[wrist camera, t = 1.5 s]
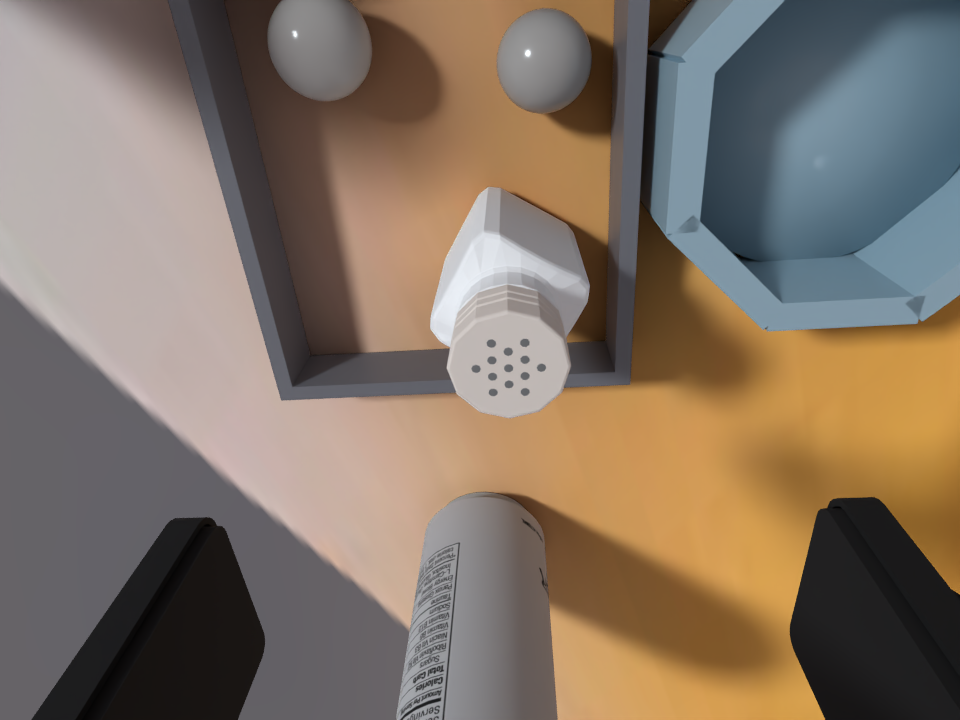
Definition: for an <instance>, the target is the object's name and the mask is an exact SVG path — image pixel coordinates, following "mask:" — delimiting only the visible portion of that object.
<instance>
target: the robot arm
mask: <svg viewBox="0 0 960 720" xmlns="http://www.w3.org/2000/svg"><path fill="white" fill-rule="evenodd" d="M790 637H791V642H792V646H793V649H794V652H795V654H796V656H797V658H798V660H799V663H800V665H801V667H802V669H803V671H804V674H805V676H806V678H807V680H808V682H809V685H810V687H811V689H812V691H813V693H814V695H815V698H816V700H817V702H818V704H819V706H820V709H821V711H822V713H823V715H824V717H825V720H960V595H959V594H958V593H956V592H954V591H953V590H951V589H950V587H949V586H948V585H947V583H946V582H945V581H944V580H943V578H942V577H941V576H940V575H939V573H938V572H937V571H936V570H935V568H934V567H933V566H932V564H931V563H930V562H929V561H928V559H927V558H926V557H925V556H924V554H923V553H922V552H921V550H920V549H919V548H918V547H917V545H916V544H915V543H914V542H913V540H912V539H911V538H910V536H909V535H908V534H907V533H906V531H905V530H904V529H903V528H902V526H901V525H900V524H899V523H898V521H897V520H896V519H895V517H894V516H893V515H892V514H891V512H890V511H889V510H888V509H887V507H886V506H885V505H884V504H883V503H882V502H881V501H880V500H879V499H877V498H875V497H868V498H837V499H833V500H832V501H830V503H829V505H828V508H827V509H820V510H819V511H818V514H817V517H816V521H815V525H814V529H813V533H812V537H811V541H810V545H809V549H808V554H807V558H806V562H805V566H804V570H803V574H802V578H801V582H800V586H799V591H798V595H797V599H796V603H795V607H794V611H793V615H792V619H791V623H790ZM264 647H265V636H264V632H263V629H262V626H261V624H260V621H259V619H258V616H257V613H256V611H255V608H254V605H253V602H252V600H251V597H250V594H249V592H248V589H247V587H246V584H245V581H244V578H243V575H242V573H241V570H240V567H239V565H238V562H237V559H236V557H235V554H234V551H233V549H232V546H231V543H230V541H229V538H228V535H227V533H226V531H225V529H224V528H223V527H222V526H217V525H216V523H215V521H214V520H213V519H212V518H207V517H205V518H175V519H173V520H171V521H170V522H169V523H168V524H167V525H166V526H165V528H164V529H163V531H162V532H161V534H160V535H159V536H158V538H157V539H156V541H155V542H154V544H153V545H152V546H151V548H150V549H149V551H148V552H147V554H146V555H145V557H144V558H143V559H142V561H141V562H140V564H139V565H138V567H137V568H136V570H135V571H134V572H133V574H132V575H131V577H130V578H129V580H128V581H127V583H126V584H125V586H124V587H123V588H122V590H121V591H120V593H119V594H118V596H117V597H116V598H115V600H114V602H113V603H112V604H111V606H110V607H109V609H108V610H107V611H106V613H105V615H104V616H103V618H102V619H101V620H100V622H99V623H98V624H97V626H96V627H95V629H94V630H93V632H92V633H91V635H90V636H89V637H88V639H87V640H86V642H85V643H84V645H83V646H82V648H81V649H80V650H79V652H78V653H77V655H76V656H75V658H74V659H73V661H72V662H71V664H70V665H69V666H68V668H67V669H66V671H65V672H64V673H63V675H62V676H61V678H60V679H59V681H58V682H57V684H56V685H55V687H54V688H53V689H52V691H51V692H50V694H49V695H48V697H47V698H46V699H45V701H44V702H43V704H42V705H41V707H40V708H39V710H38V711H37V713H36V714H35V715H34V717H33V718H32V720H238V718H239V715H240V712H241V710H242V707H243V705H244V702H245V700H246V697H247V695H248V692H249V690H250V687H251V684H252V682H253V680H254V677H255V674H256V672H257V669H258V667H259V664H260V662H261V659H262V656H263V653H264Z"/></svg>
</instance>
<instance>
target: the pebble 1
mask: <svg viewBox="0 0 960 720" xmlns="http://www.w3.org/2000/svg"><path fill="white" fill-rule="evenodd" d="M267 39H268V49H269V53H270V57H271V60H272V62H273V65H274V67H275V69H276V71H277V72H278V74H279V75H280V77H281V78H282V79H283V80H284V82H285V83H286V84H287V85H288V86H289V87H291V88H292V89H293V90H294V91H296V92H297V93H299V94H301V95H302V96H305V97H307V98H310V99H313V100H317V101H334V100H338V99H342V98H344V97H346V96H348V95H350V94H351V93H353V92H354V91H355V90H356V89H357V88H358V87H359V86H360V85H361V84H362V83H363V81H364V79H365V78H366V76H367V74H368V71H369V69H370V65H371V60H372V41H371V37H370V33H369V30H368V27H367V25H366V22H365V20H364V19H363V17H362V15H361V14H360V12H359V11H358V10H357V8H356V7H355V6H354V5H353V4H352V3H351V2H350V1H349V0H282V1H281V2H280V3H279V4H278V5H277V7H276V8H275V10H274V12H273V14H272V16H271V19H270V22H269V26H268V35H267Z"/></svg>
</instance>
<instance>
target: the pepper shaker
mask: <svg viewBox="0 0 960 720" xmlns="http://www.w3.org/2000/svg"><path fill="white" fill-rule="evenodd" d="M589 289H590V284H589V281H588V277H587V274H586V271H585V268H584V265H583V261H582V258H581V255H580V252H579V249H578V245H577V242H576V239H575V236H574V233H573V231H572V230H571V229H570V228H569V226H568V225H567V224H566V223H564V222H563V221H561V220H559V219H557V218H555V217H553V216H551V215H550V214H548V213H546V212H544V211H542V210H540V209H539V208H537V207H535V206H533V205H531V204H529V203H527V202H526V201H524V200H522V199H520V198H518V197H516V196H515V195H513V194H511V193H509V192H507V191H505V190H503V189H502V188H495V187H487V188H486V189H485V190H484V191H483V192H481V193H480V194H479V195H478V197H477V199H476V201H475V203H474V205H473V206H472V208H471V210H470V212H469V214H468V216H467V218H466V220H465V222H464V224H463V226H462V228H461V229H460V231H459V233H458V235H457V237H456V239H455V241H454V243H453V245H452V247H451V249H450V251H449V253H448V254H447V256H446V258H445V262H444V266H443V270H442V274H441V278H440V282H439V286H438V290H437V294H436V298H435V301H434V305H433V309H432V313H431V323H430V328H431V330H432V332H433V333H434V334H435V336H436V337H437V338H438V339H439V341H440V342H442V343H443V344H445V345H447V346H448V347H450V351H449V357H448V362H447V370H448V373H449V375H450V378H451V380H452V383H453V385H454V388H455V391H456V393H457V395H459V396H460V397H461V398H463V399H464V400H465V401H466V402H468V403H469V404H470V405H472V406H473V407H474V408H475V409H477V410H478V411H479V412H481V413H486V414H491V415H496V416H501V417H505V418H514V417H518V416H522V415H526V414H531V413H535V412H539V411H540V410H542V409H543V408H544V407H545V406H546V405H548V404H549V403H550V402H551V401H552V400H554V399H555V398H556V397H557V396H558V395H560V394H561V393H562V391H563V388H564V385H565V383H566V380H567V377H568V374H569V371H570V368H571V361H570V355H569V350H568V345H567V339H566V337H567V335H568V334H569V332H570V331H571V329H572V328H573V326H574V324H575V323H576V321H577V319H578V318H579V316H580V314H581V313H582V311H583V309H584V307H585V306H586V304H587V302H588V296H589Z"/></svg>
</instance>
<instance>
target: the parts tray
mask: <svg viewBox="0 0 960 720" xmlns="http://www.w3.org/2000/svg"><path fill="white" fill-rule="evenodd" d="M168 3H169V6H170V10H171V13H172V17H173V20H174V24H175V27H176V31H177V34H178V38H179V41H180V45H181V48H182V52H183V55H184V59H185V62H186V66H187V70H188V73H189V77H190V80H191V84H192V87H193V91H194V94H195V98H196V101H197V105H198V108H199V112H200V115H201V119H202V122H203V126H204V129H205V133H206V137H207V140H208V144H209V147H210V151H211V154H212V158H213V161H214V165H215V168H216V172H217V175H218V179H219V182H220V186H221V189H222V193H223V196H224V200H225V204H226V207H227V211H228V214H229V218H230V221H231V225H232V228H233V232H234V235H235V239H236V242H237V246H238V249H239V253H240V256H241V260H242V264H243V267H244V271H245V274H246V278H247V281H248V285H249V288H250V292H251V295H252V299H253V302H254V306H255V309H256V313H257V316H258V320H259V323H260V327H261V331H262V334H263V338H264V341H265V345H266V348H267V352H268V355H269V359H270V362H271V366H272V369H273V373H274V376H275V380H276V383H277V387H278V390H279V394H280V398H281V400H301V399H323V398H345V397H367V396H389V395H411V394H433V393H455V392H456V391H455V388H454V385H453V383H452V380H451V378H450V375H449V373H448V370H447V362H448V357H449V351H450V349H434V350H414V351H394V352H375V353H355V354H335V355H315V356H310V352H309V348H308V343H307V339H306V335H305V331H304V327H303V323H302V319H301V315H300V311H299V307H298V303H297V299H296V294H295V290H294V286H293V282H292V278H291V274H290V270H289V266H288V262H287V258H286V254H285V250H284V245H283V241H282V237H281V233H280V229H279V225H278V221H277V217H276V213H275V209H274V205H273V201H272V196H271V192H270V188H269V184H268V180H267V176H266V172H265V168H264V164H263V160H262V156H261V152H260V148H259V143H258V139H257V135H256V131H255V127H254V123H253V119H252V115H251V111H250V107H249V103H248V99H247V94H246V90H245V86H244V82H243V78H242V74H241V70H240V66H239V62H238V58H237V54H236V50H235V45H234V41H233V37H232V33H231V29H230V25H229V21H228V17H227V13H226V9H225V5H224V1H223V0H168ZM649 6H650V0H615V5H614V43H613V80H612V118H611V156H610V193H609V231H608V269H607V306H606V341H592V342H573V343H567V345H568V350H569V355H570V361H571V368H570V371H569V374H568V377H567V380H566V383H565V385H564V388H566V387H588V386H610V385H630V379H631V359H632V339H633V320H634V300H635V281H636V261H637V241H638V222H639V202H640V182H641V163H642V143H643V123H644V104H645V84H646V65H647V45H648V25H649Z"/></svg>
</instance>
